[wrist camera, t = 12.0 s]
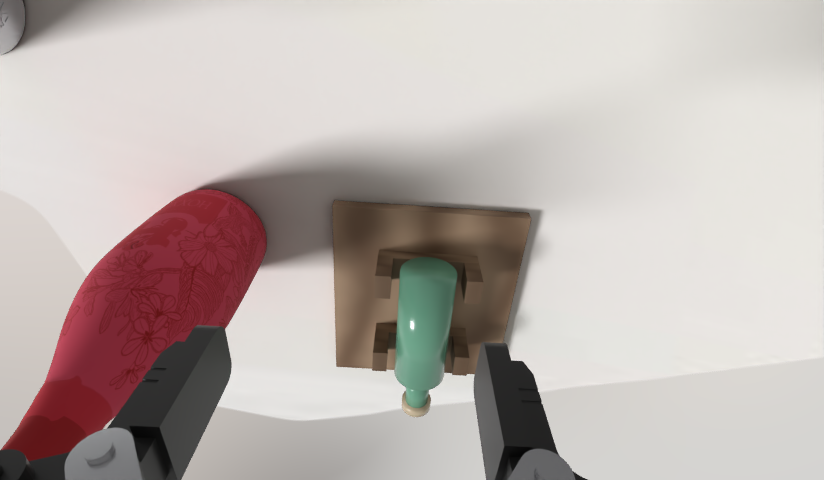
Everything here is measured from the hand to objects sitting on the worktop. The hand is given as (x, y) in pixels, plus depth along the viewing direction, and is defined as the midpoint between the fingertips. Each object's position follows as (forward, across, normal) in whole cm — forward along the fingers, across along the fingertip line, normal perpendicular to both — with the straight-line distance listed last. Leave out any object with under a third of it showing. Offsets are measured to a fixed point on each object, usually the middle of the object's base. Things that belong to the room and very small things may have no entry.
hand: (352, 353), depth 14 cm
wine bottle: (+26, +16, +11) cm, 33 cm away
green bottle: (+24, -4, +19) cm, 31 cm away
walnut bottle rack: (+26, -4, +17) cm, 31 cm away
